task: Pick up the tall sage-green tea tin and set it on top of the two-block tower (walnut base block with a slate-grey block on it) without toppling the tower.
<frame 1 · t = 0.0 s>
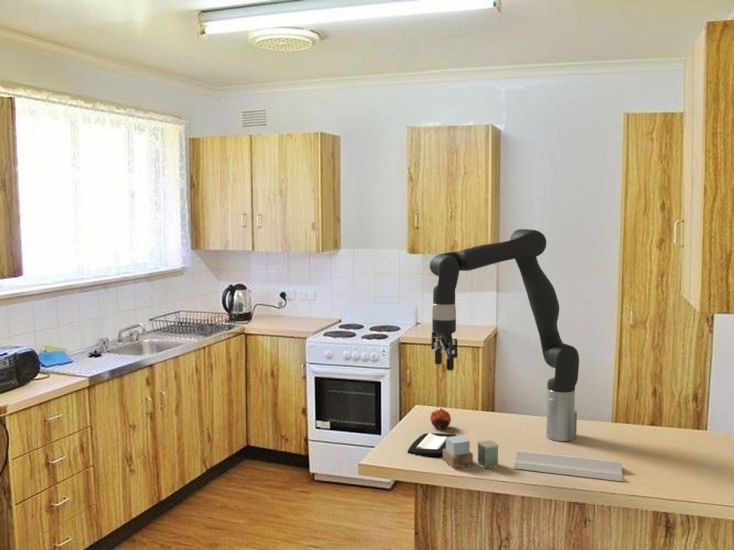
hand: (444, 366, 210), 29 cm above the counter, tool pointing down, fingers open, 8 cm apart
base block: (457, 463, 206), on the counter, touching mid block
crown molding: (567, 470, 202), on the counter
pomegranate: (440, 428, 238), on the counter
black flat rectangular tray: (433, 447, 221), on the counter
mid block: (457, 451, 206), point 4 cm above the counter, touching base block
tea tin: (487, 465, 204), on the counter
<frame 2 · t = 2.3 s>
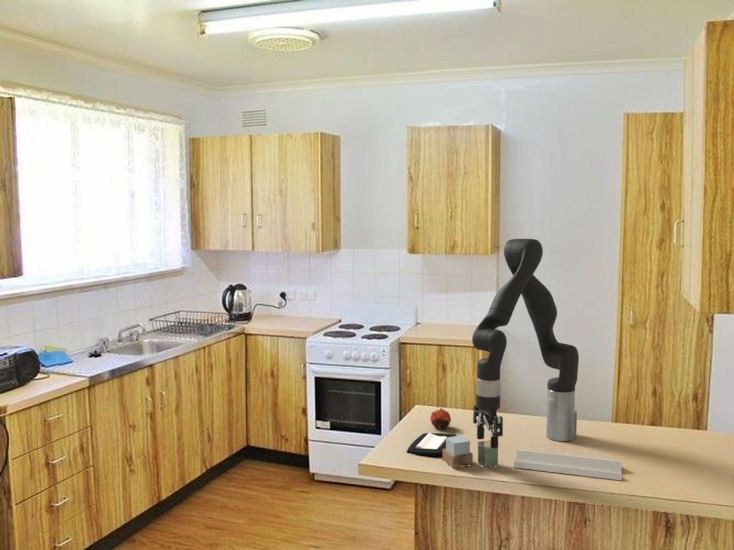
hand: (487, 443, 203), 7 cm above the counter, tool pointing down, fingers open, 8 cm apart
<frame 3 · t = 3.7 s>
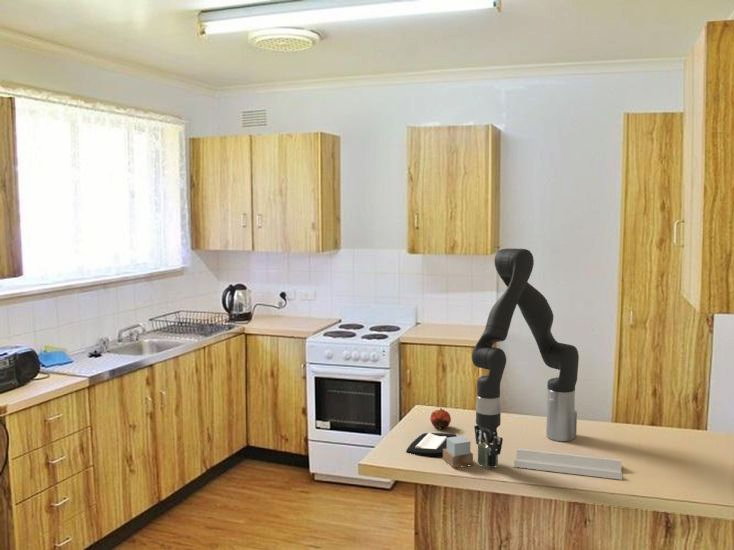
hand: (487, 462, 204), 1 cm above the counter, tool pointing down, fingers closed on tea tin, 4 cm apart
tea tin: (487, 465, 204), on the counter, touching gripper
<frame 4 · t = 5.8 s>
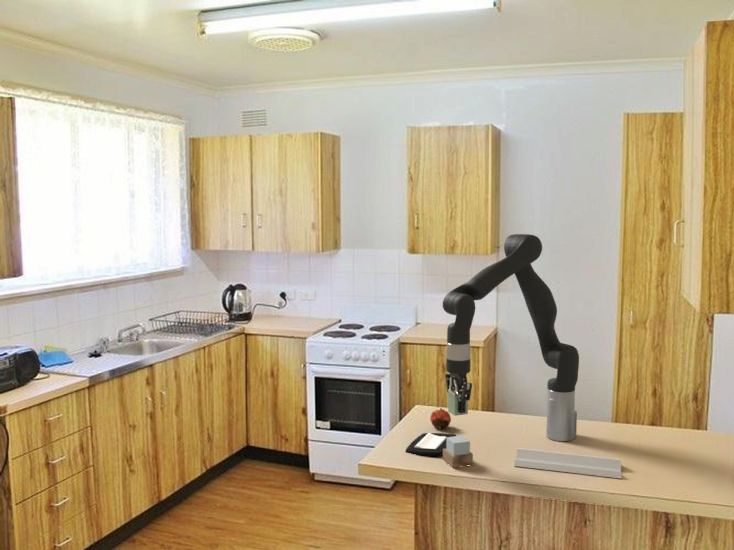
hand: (458, 409, 204), 17 cm above the counter, tool pointing down, fingers closed on tea tin, 4 cm apart
tea tin: (457, 412, 205), point 16 cm above the counter, touching gripper
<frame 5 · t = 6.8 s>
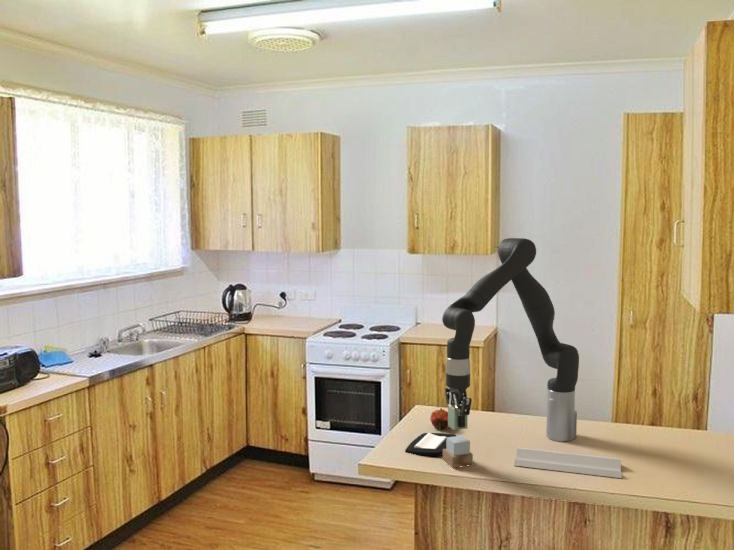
hand: (457, 424, 205), 13 cm above the counter, tool pointing down, fingers closed on tea tin, 4 cm apart
tea tin: (457, 427, 205), point 12 cm above the counter, touching gripper
when the fingers open (10 cm above the counter, at t = 7.8 s): tea tin drops 1 cm, resting on mid block.
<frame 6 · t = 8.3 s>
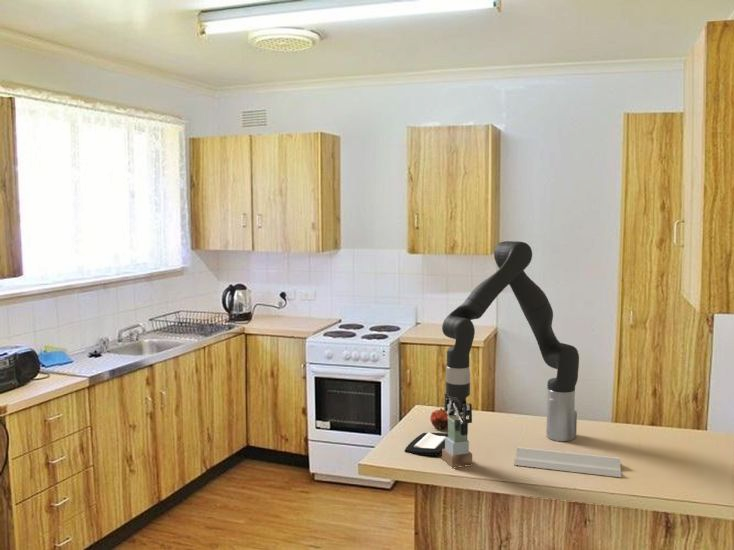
hand: (457, 430, 205), 11 cm above the counter, tool pointing down, fingers open, 8 cm apart
base block: (456, 463, 207), on the counter
mid block: (456, 451, 206), point 4 cm above the counter, touching tea tin
tea tin: (457, 439, 206), point 8 cm above the counter, touching mid block
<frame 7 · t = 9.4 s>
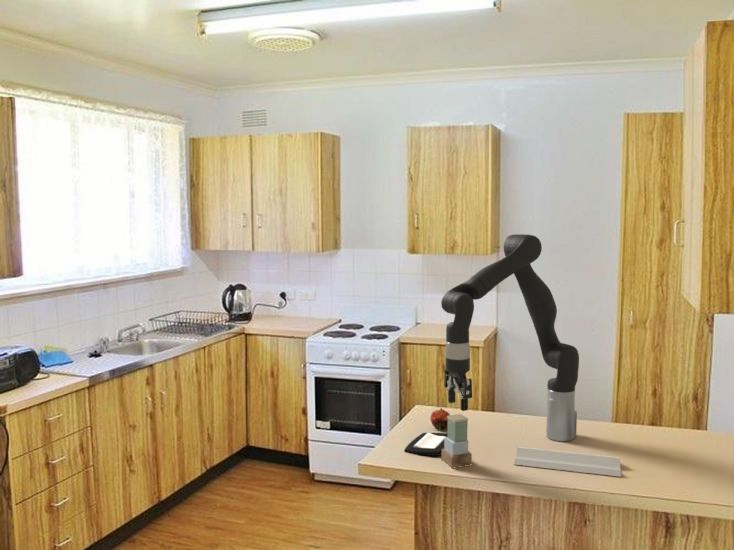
hand: (457, 406, 204), 18 cm above the counter, tool pointing down, fingers open, 8 cm apart
base block: (456, 463, 207), on the counter, touching mid block
mid block: (456, 451, 206), point 4 cm above the counter, touching base block, tea tin
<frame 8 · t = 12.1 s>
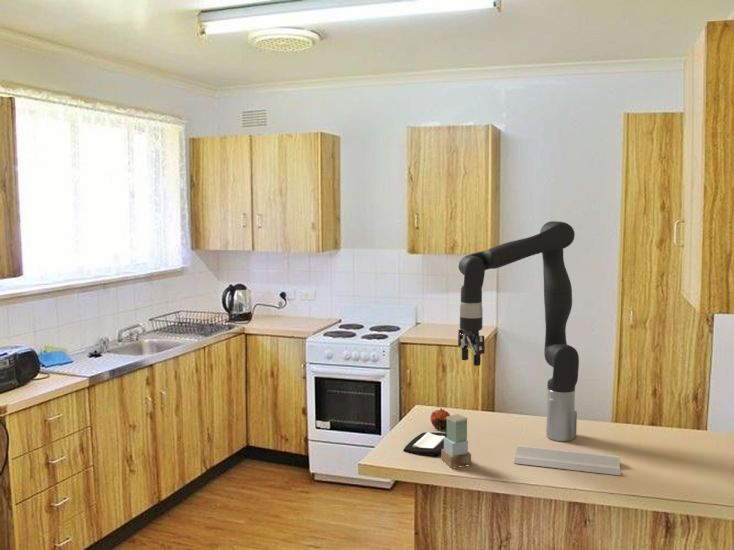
hand: (470, 362, 220), 28 cm above the counter, tool pointing down, fingers open, 8 cm apart
mid block: (455, 451, 206), point 4 cm above the counter, touching base block
tea tin: (456, 439, 206), point 8 cm above the counter
at the end: tea tin 0.2 cm off-centre on the base block, point 8.0 cm above the base block's base; tea tin tilted 0°; mid block 0.2 cm off-centre on the base block, point 4.0 cm above the base block's base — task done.
